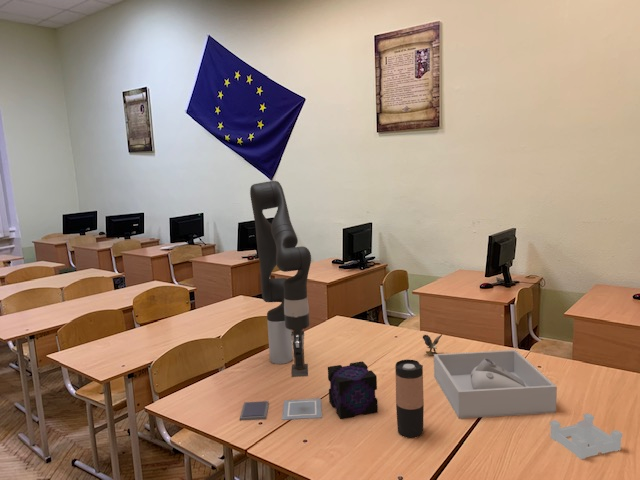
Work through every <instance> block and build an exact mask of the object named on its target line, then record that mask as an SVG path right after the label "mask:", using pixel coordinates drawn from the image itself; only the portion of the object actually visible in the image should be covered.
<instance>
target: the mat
mask: <svg viewBox="0 0 640 480" xmlns="http://www.w3.org/2000/svg"><path fill="white" fill-rule="evenodd" d="M282 408H283V409H282V418H281V419H282V420H283V421H285V420H286V421H290V420H309V419H311V420H312V419H313V420H314V419H322V418H323V417H322V414H323V413H322V399H321V398H307V399H306V398H304V399H302V398H301V399H288V400H283V407H282Z"/></svg>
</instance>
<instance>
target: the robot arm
mask: <svg viewBox="0 0 640 480" xmlns="http://www.w3.org/2000/svg"><path fill="white" fill-rule="evenodd" d="M249 191H250V192H249V195H250V203H251V207H252V213H253V220H254V225H255V237H256V245H257V247H256V248H257V255H258V261H259V269H260V270H259V271H260V287H261V289H260V290H261V297H262V300H263V302H265V303H278V302H279V303H280V304H279V305H278V306H276V307H274V308H271V309H269V310H268V311H267V313H266V319H267V320H266V321H267V334H268V336H267V337H268V351H269V362H270V363H272V364H276V365H280V364H281V365H284V364H288V363H291V362H292V361H294V357H295V362H296V368H303V351H302V349H303V348H304V349H305V329H308V328H309V327H310V308H309V307H310V306H309V302H308V290H307V287H308V286H307V284H308V276H309V271H310V268H311V263H312V254H311V252H310V250H309V248H308V247H306V246H297V245H298V243H299V242H298V241H299V240H298V237H297V234H296V231H295V228H294V227H293V225H292V221H291V218H290V214H289V207H288V206H287V205H288V204H287V201H286V196H285V193H284V189H283V187H282V185H281V183H280V182H279V181H277V180H271V181H264V182H263V181H262V182H258V183H253V184H251V186H250V188H249ZM275 208H277V210H276V213H275V214H274V217H273V219H272V222H271V223H270V221H268V218H266V215H264V212H263V211H264V210H269V209H270V210H271V209H275ZM276 266H277V268H278V269H279V271H281V272H283V273H285V272H288V273H289V272H295V271H297V272H296V274H294V275H293V276H291V277H289V278H287V277H278V278H270V277H271V274H272V272H273V270H274V269H275V268H276ZM293 349H294V350H293ZM296 352H301V353H296Z"/></svg>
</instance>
